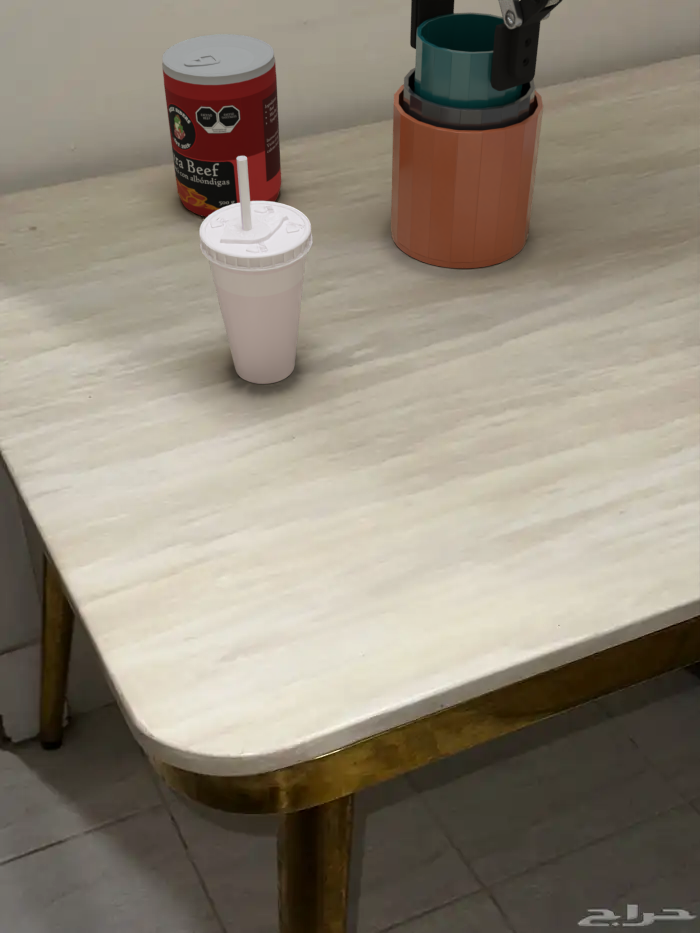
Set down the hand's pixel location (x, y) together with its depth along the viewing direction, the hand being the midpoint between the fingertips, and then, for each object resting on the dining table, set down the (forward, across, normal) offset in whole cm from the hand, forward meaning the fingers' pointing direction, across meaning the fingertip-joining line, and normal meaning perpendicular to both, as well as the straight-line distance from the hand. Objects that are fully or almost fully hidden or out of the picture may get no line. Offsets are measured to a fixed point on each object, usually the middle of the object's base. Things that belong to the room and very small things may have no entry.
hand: (470, 62), depth 72 cm
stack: (+13, 0, 0) cm, 13 cm away
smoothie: (+13, -6, +20) cm, 24 cm away
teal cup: (+7, 0, 0) cm, 7 cm away
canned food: (+13, +14, +11) cm, 22 cm away
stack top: (+13, 0, 0) cm, 13 cm away
